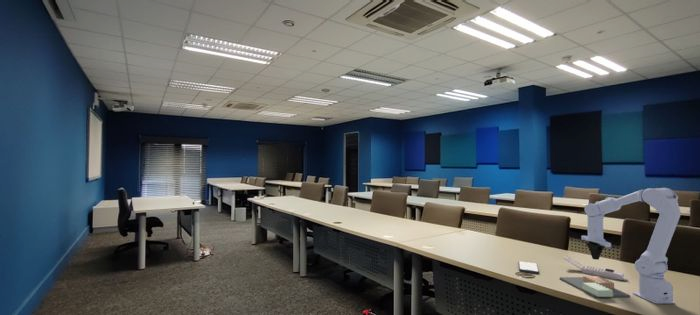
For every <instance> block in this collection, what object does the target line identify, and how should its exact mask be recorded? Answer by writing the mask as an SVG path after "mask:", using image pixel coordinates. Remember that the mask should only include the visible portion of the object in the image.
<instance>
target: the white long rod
mask: <svg viewBox="0 0 700 315" xmlns="http://www.w3.org/2000/svg"><path fill="white" fill-rule="evenodd" d="M563 259H564V260H565V261H567V262H568V263H570V264H572V265H573V266H575V267H576V268H578V269H579V270H581V273H583V274H587V275H591V276H599V277H602V278H605V279H612V280H618V281H619V280H620V281H625V282H629V278H624V272H622V271H618V270H616V269H615V270H614V269H611V268H601V267H594V266H588V265H582V264H580V262H578V261H576V260H575V259H573V258H571V257H570V256H568V255H565V256H564V257H563Z"/></svg>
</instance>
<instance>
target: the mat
mask: <svg viewBox="0 0 700 315" xmlns="http://www.w3.org/2000/svg"><path fill="white" fill-rule="evenodd" d="M559 280H560V281H562V282H564V283H566V284H568V285H570V286H572V287H574V288H575V289H577V290H580V291H582V292H583V291H584V293H586V294H588V295H590V296H591V297H593V298H599V297H598V296H596V295H594V294H592V293H590V292H588V291H586V290H584V289H582V283H585V282H583V276H581V277H580V276H577V277H575V276H569V277H568V276H566V277H565V276H564V277H563V276H559ZM611 290H613V297H612V298H630V297H631V296H630V294H628V293H626V292H624V291H622V290H619V289H617V288H615V287H614V289H611Z"/></svg>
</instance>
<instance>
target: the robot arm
mask: <svg viewBox="0 0 700 315" xmlns="http://www.w3.org/2000/svg"><path fill="white" fill-rule="evenodd" d="M678 199H679V196H678V194H676V193H675V192H674V190H672V189H671V188H668V187H660V188H659V187H655V188H654V187H650V188H649V187H648V188H646V189H639V190H637V191H634V192H632V193H629V194H626V195H623V196H621V197H618V198H617V197H616V198H615V197H610V196H607V197H605V199H603V200H597V201H595V203H588V204H586V205H585V206H584V213H585V214H586V215H587V235H581V238H580V239H581V240H583V241H587V242H585V243H586V244H585V245H586V246H587V247H588V250H589V252H590V254H591V258H592V260H598V261H599V259H600V257H601V254H602V252H603V250H604V249H605V248H612V243H611V242H609V241H607V240H606V239H604V217H605V215H606V214H609V213H613V212H616V211H619V210H620V209H622V206H625V205H630V204H633V203H636V202H645V203H647V205H649V206H650V207H652V208H653V209H655V211H656V212H657V213H658V214H659V216H658V218H657V221H656V223H655V226H654V229H653V232H652V235H651V237H650V240H649V243H648V246H647V248H646V250H645V251H644V252H643V253H642V254H641V255H640V257H639V258H638V259H636V261H635V262H634V268H635V270H636V271H637V272H638V291H639V292H636V291H635V292H632V294H633V295H635V296H637V297H640V298H643V299H644V300H647V301H648V302H652V303H653V304H676V302H675V301H674V286H673V284H672V283H671V282H670V281H669V280H667V279H665V273H666V272H667V271H668V270H669V269H668V268H669V267H668V260H669V259H668V257H667V256H666V254H667V252H668V249H669V246H670V244H671V241H672V238H673V236H674V233H675V231H676V228H677V226H678V223H679V220H680V218H681V215H682V212H681V209H680V205H679V201H678Z"/></svg>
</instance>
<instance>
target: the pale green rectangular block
mask: <svg viewBox="0 0 700 315" xmlns="http://www.w3.org/2000/svg"><path fill="white" fill-rule="evenodd" d="M582 289H584V290H586V291H588V292H590V293H592V294H594V295H596V296H598V297H597V298H614V297H613V290H611V289H609V288H607V287H605V286H603V285H600V284H598V283H582Z"/></svg>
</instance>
